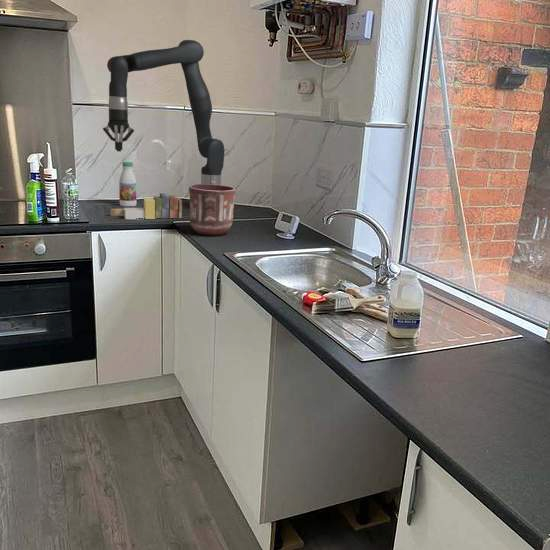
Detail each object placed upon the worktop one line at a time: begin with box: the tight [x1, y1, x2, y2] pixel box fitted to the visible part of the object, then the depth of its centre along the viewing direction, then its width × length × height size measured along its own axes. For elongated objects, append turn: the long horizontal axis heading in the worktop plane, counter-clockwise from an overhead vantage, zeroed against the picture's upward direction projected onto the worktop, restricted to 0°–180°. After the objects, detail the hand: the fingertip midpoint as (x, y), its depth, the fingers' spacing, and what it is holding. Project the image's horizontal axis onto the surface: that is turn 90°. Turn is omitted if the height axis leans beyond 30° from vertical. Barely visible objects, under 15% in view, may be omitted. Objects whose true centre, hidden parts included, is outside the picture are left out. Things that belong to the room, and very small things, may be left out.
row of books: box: [109, 192, 183, 219], centre depth 243 cm, size 30×8×10 cm, turn 110°
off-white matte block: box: [123, 207, 145, 220], centre depth 241 cm, size 8×6×4 cm
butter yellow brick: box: [143, 198, 156, 220], centre depth 242 cm, size 4×5×8 cm
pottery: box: [188, 183, 237, 237], centre depth 222 cm, size 18×18×18 cm
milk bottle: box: [118, 161, 137, 208], centre depth 264 cm, size 8×8×20 cm
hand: (118, 151), depth 238 cm, fingers closed
